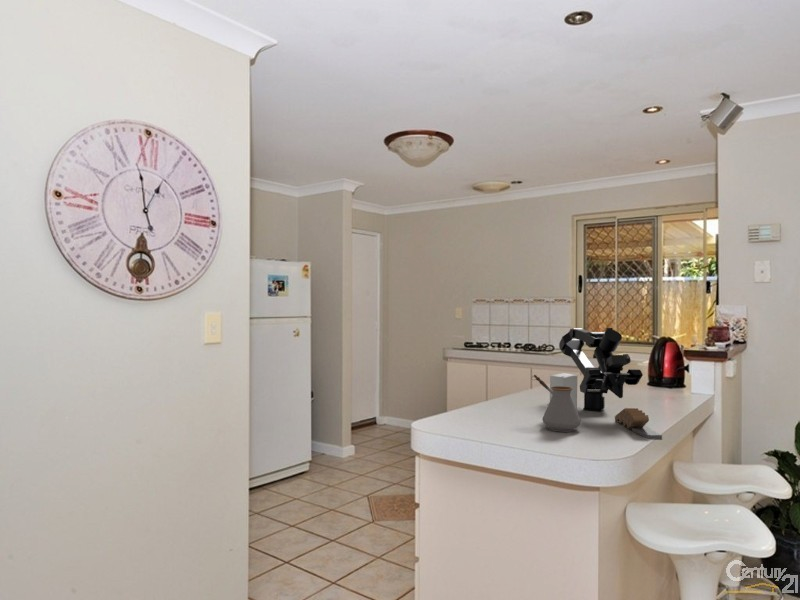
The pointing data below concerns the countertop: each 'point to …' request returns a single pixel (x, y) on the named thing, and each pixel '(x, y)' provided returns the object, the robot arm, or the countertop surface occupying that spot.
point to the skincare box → (565, 384)
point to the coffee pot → (560, 409)
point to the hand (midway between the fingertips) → (621, 397)
